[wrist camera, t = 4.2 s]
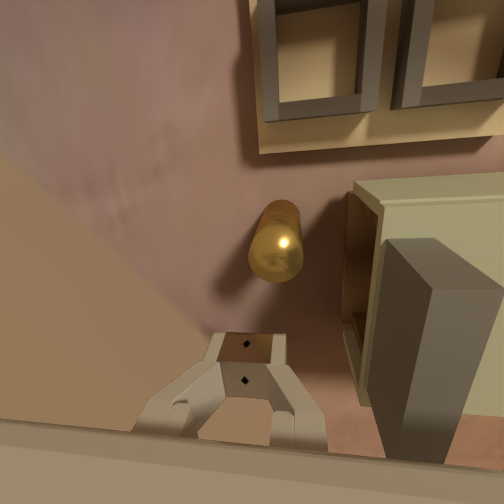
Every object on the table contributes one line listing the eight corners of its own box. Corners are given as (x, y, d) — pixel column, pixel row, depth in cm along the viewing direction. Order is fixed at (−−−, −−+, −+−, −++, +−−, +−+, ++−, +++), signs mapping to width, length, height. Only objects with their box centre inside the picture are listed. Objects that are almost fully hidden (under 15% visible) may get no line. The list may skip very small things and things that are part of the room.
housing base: (567, 320, 17) (687, 401, 12) (340, 315, 19) (357, 381, 14) (639, 175, 13) (857, 201, 8) (348, 191, 15) (375, 218, 10)
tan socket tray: (495, 134, 13) (537, 133, 11) (261, 152, 15) (255, 156, 13) (555, -93, 10) (632, -159, 8) (249, -32, 12) (239, -71, 10)
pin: (300, 235, 17) (304, 282, 11) (263, 236, 17) (250, 282, 12) (300, 198, 16) (303, 231, 11) (261, 200, 16) (245, 233, 11)
